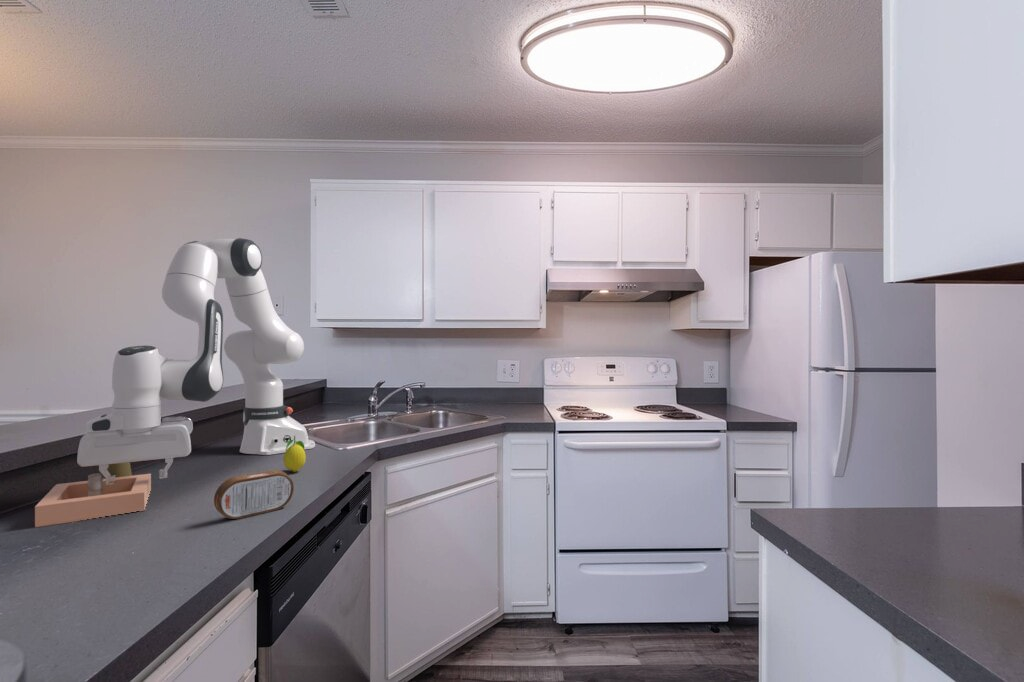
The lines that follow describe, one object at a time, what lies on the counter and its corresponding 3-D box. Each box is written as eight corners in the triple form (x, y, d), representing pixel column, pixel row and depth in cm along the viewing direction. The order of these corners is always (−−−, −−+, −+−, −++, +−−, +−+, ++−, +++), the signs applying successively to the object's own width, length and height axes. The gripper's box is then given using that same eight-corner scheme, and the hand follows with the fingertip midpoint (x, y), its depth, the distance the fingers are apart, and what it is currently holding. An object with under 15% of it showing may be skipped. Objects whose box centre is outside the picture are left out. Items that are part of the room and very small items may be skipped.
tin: (290, 503, 111) (290, 465, 111) (295, 507, 108) (295, 468, 108) (213, 520, 100) (213, 479, 100) (217, 525, 98) (217, 482, 98)
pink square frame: (150, 490, 119) (150, 473, 119) (144, 511, 105) (144, 492, 105) (56, 502, 110) (56, 484, 110) (35, 527, 96) (34, 506, 96)
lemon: (285, 476, 132) (285, 438, 132) (278, 472, 136) (278, 435, 136) (310, 472, 136) (311, 435, 136) (303, 467, 140) (303, 432, 140)
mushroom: (127, 496, 114) (127, 466, 114) (121, 509, 106) (121, 476, 106) (69, 504, 109) (69, 472, 109) (59, 518, 101) (59, 484, 101)
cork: (116, 490, 119) (115, 444, 119) (95, 488, 121) (95, 443, 120) (139, 483, 125) (139, 439, 125) (119, 481, 126) (119, 438, 126)
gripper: (192, 413, 119) (192, 471, 120) (81, 420, 109) (81, 484, 109) (192, 417, 114) (192, 477, 114) (75, 425, 103) (75, 491, 103)
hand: (137, 480), depth 111 cm, fingers open, 8 cm apart
